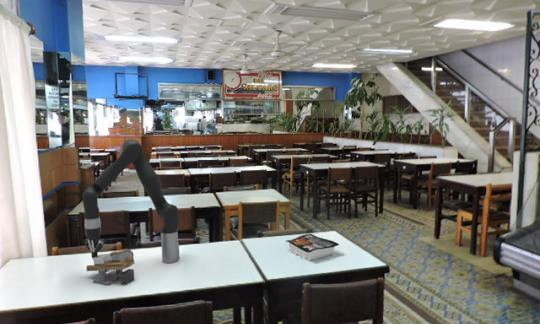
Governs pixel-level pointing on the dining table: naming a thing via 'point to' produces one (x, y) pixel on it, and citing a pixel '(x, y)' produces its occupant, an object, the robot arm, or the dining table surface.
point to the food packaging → (311, 246)
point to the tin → (121, 254)
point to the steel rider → (102, 259)
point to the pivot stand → (115, 277)
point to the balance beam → (113, 265)
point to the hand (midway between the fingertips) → (94, 258)
